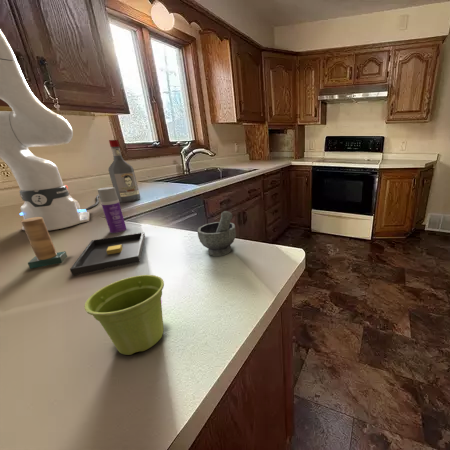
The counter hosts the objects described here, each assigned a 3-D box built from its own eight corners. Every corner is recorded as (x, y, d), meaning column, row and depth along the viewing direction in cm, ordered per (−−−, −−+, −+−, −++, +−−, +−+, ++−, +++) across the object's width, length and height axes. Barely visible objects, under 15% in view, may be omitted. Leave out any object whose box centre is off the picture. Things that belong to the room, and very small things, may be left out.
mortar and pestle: (194, 253, 66) (186, 210, 62) (222, 241, 74) (217, 202, 70) (220, 263, 60) (213, 217, 56) (248, 250, 67) (244, 208, 63)
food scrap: (109, 250, 68) (108, 246, 68) (122, 248, 69) (121, 244, 69) (107, 254, 65) (106, 250, 65) (120, 252, 67) (119, 248, 66)
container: (118, 234, 81) (105, 190, 76) (106, 234, 82) (93, 189, 77) (130, 229, 85) (118, 187, 80) (119, 229, 86) (106, 186, 81)
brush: (37, 263, 63) (18, 219, 59) (68, 257, 65) (51, 215, 61) (30, 270, 59) (9, 223, 55) (62, 264, 62) (45, 219, 58)
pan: (93, 246, 72) (91, 240, 71) (145, 238, 78) (144, 231, 77) (72, 277, 56) (69, 269, 55) (140, 263, 61) (138, 255, 61)
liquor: (115, 200, 128) (98, 140, 118) (134, 197, 135) (119, 140, 125) (123, 202, 123) (106, 140, 113) (142, 199, 130) (128, 139, 120)
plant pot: (88, 354, 35) (67, 304, 32) (147, 313, 44) (135, 270, 41) (133, 374, 32) (115, 321, 29) (187, 325, 40) (177, 280, 37)
